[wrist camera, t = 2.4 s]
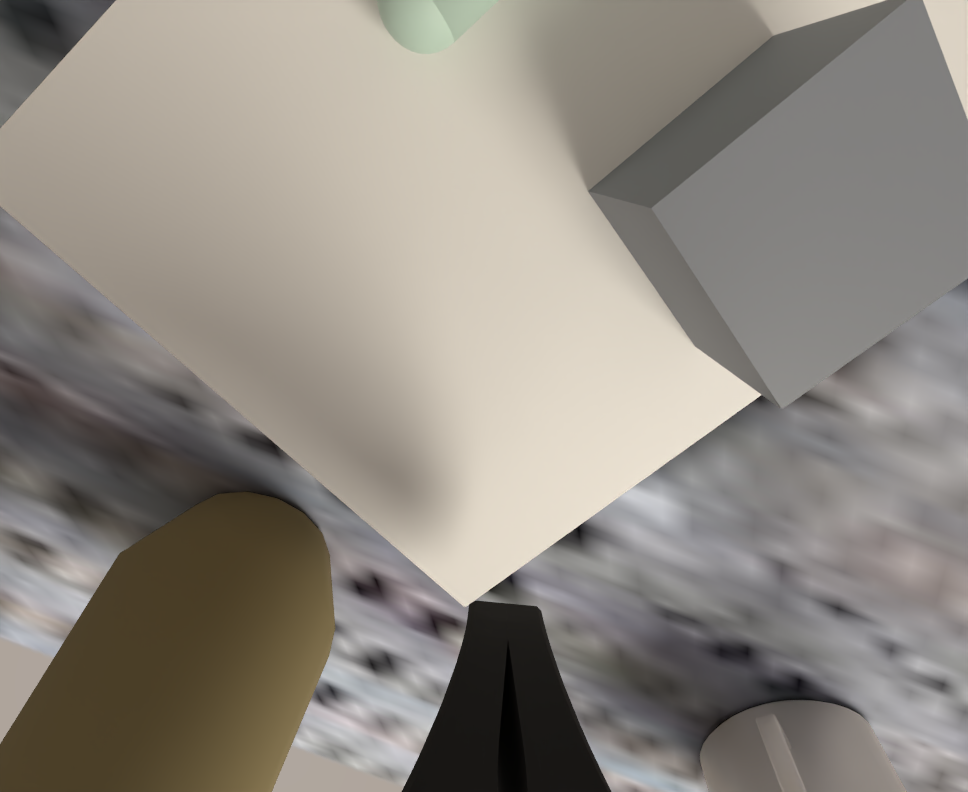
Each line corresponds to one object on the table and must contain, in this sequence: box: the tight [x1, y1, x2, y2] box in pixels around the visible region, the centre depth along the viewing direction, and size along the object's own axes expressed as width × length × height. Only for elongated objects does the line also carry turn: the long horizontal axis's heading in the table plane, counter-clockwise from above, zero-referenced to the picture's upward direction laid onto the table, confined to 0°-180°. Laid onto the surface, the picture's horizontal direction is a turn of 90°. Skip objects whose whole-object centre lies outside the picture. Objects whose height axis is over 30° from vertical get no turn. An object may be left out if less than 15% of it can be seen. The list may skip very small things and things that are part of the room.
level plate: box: [0, 0, 968, 607], centre depth 9 cm, size 13×20×4 cm, turn 129°
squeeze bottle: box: [0, 492, 335, 792], centre depth 16 cm, size 8×8×18 cm
